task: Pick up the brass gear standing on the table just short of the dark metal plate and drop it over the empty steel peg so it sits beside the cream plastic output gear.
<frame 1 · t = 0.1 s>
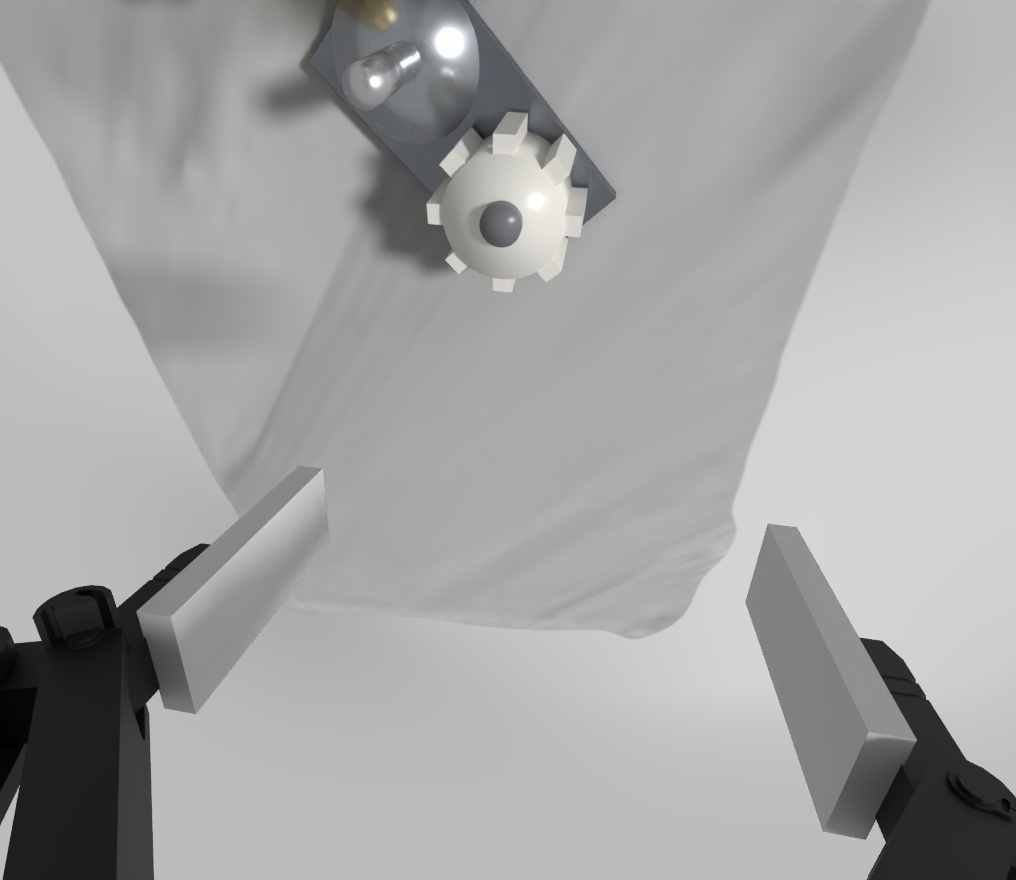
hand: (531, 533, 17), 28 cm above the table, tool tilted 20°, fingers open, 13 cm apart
gear plate: (470, 128, 35), on the table
output gear: (508, 208, 34), point 4 cm above the table, hinge at 0.0°
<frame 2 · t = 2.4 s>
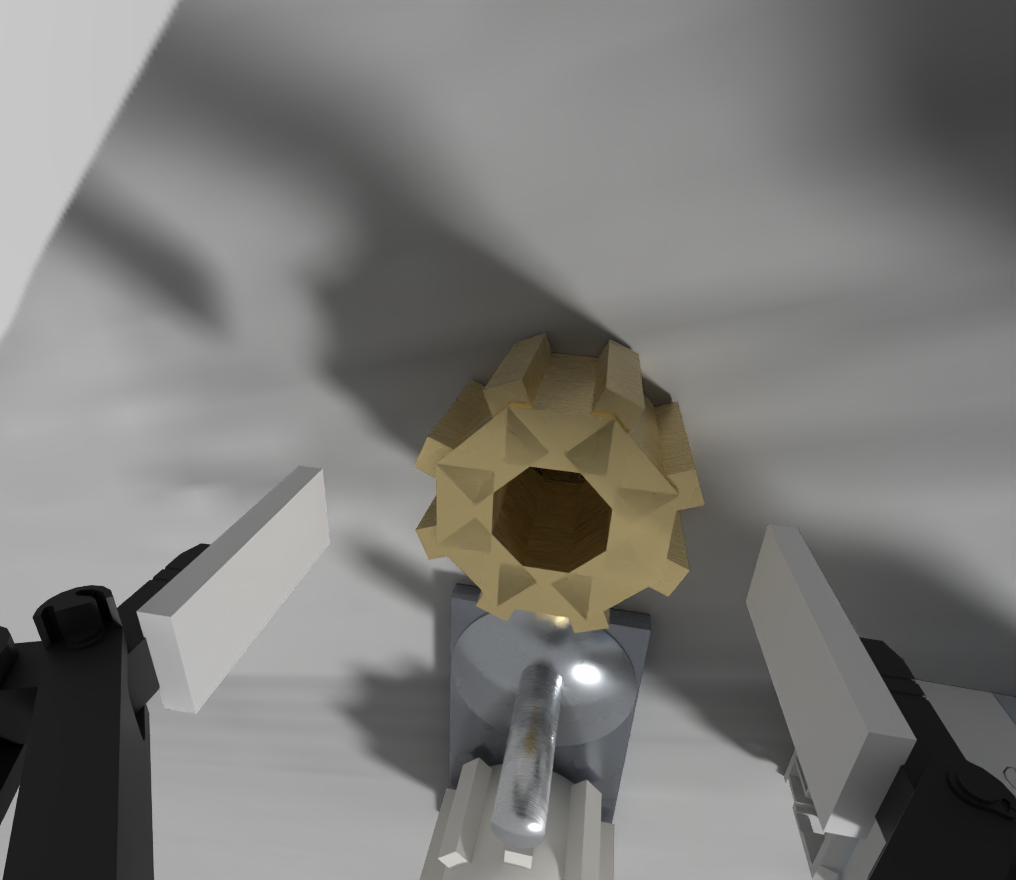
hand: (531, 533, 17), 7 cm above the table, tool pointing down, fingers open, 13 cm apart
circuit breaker: (970, 751, 25), on the table
brass gear: (566, 442, 22), on the table
gear plate: (537, 732, 30), on the table
output gear: (519, 867, 28), point 4 cm above the table, hinge at 0.0°
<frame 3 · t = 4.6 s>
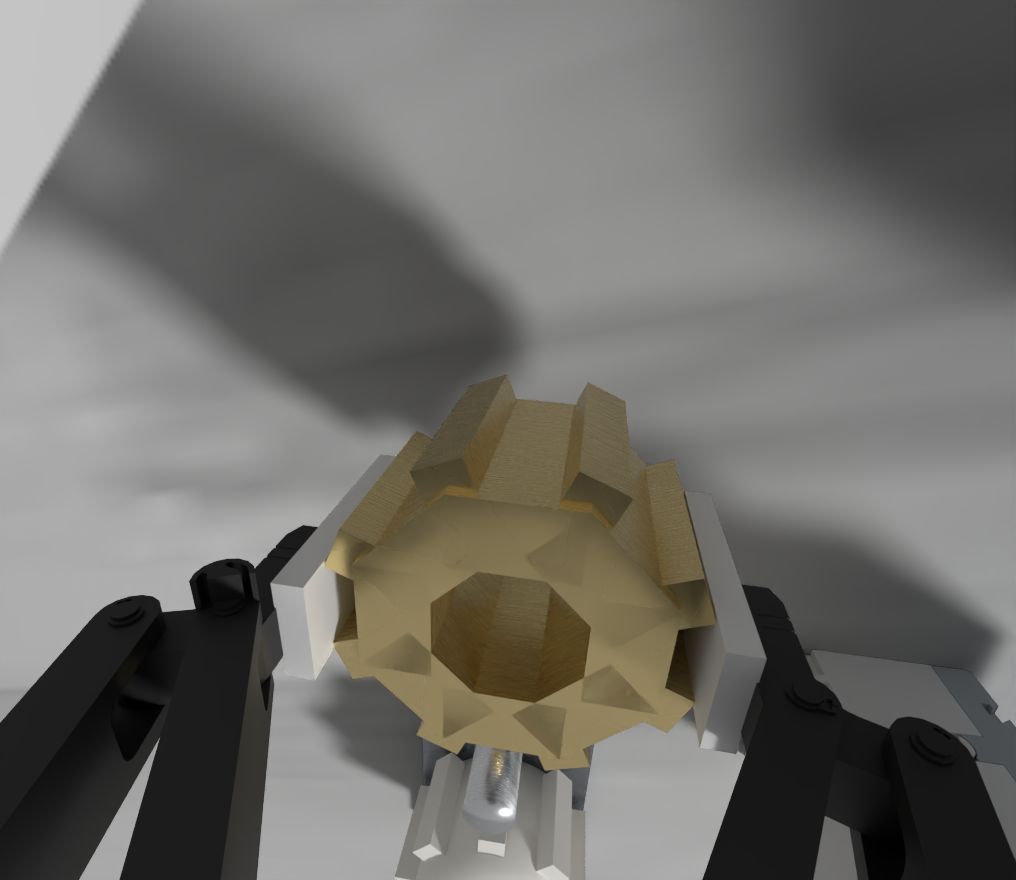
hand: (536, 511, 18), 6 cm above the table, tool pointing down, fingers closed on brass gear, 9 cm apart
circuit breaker: (913, 721, 27), on the table
brass gear: (537, 506, 18), point 6 cm above the table, touching gripper
gear plate: (508, 725, 30), on the table
output gear: (493, 857, 28), point 4 cm above the table, hinge at 0.0°
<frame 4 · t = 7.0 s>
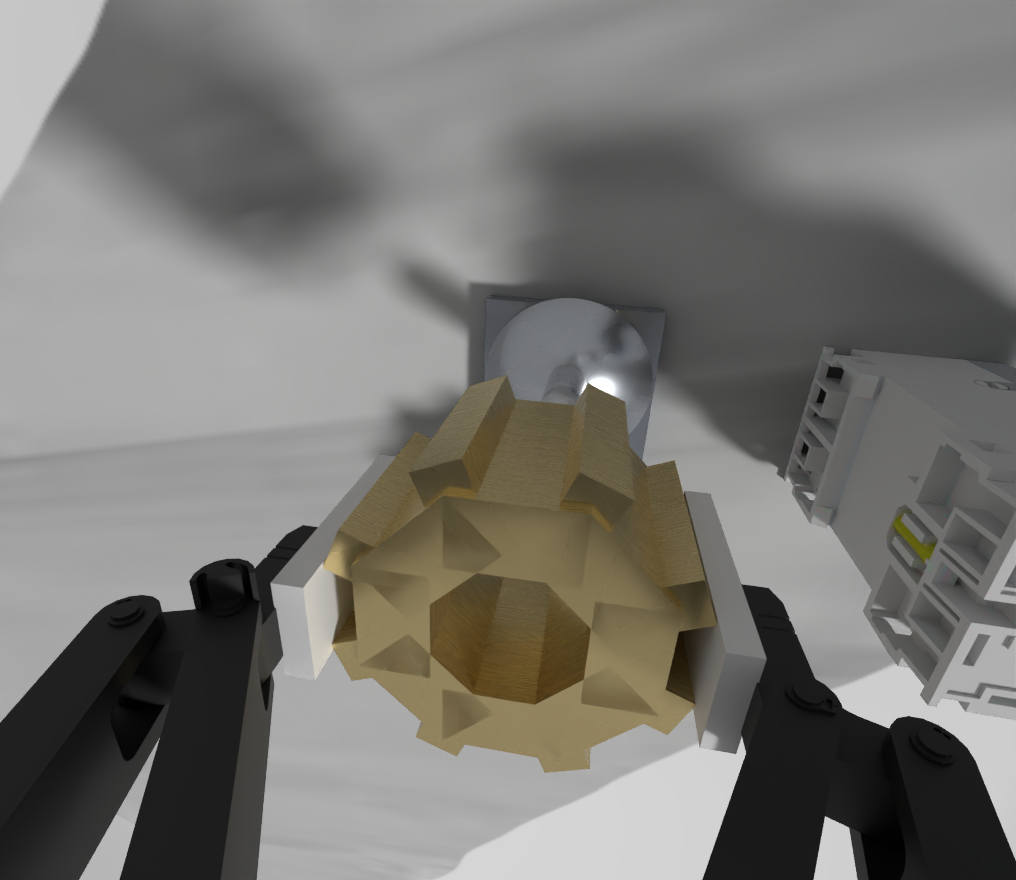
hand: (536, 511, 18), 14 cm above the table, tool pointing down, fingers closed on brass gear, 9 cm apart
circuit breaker: (947, 430, 29), on the table
brass gear: (536, 506, 18), point 14 cm above the table, touching gripper
gear plate: (560, 458, 33), on the table
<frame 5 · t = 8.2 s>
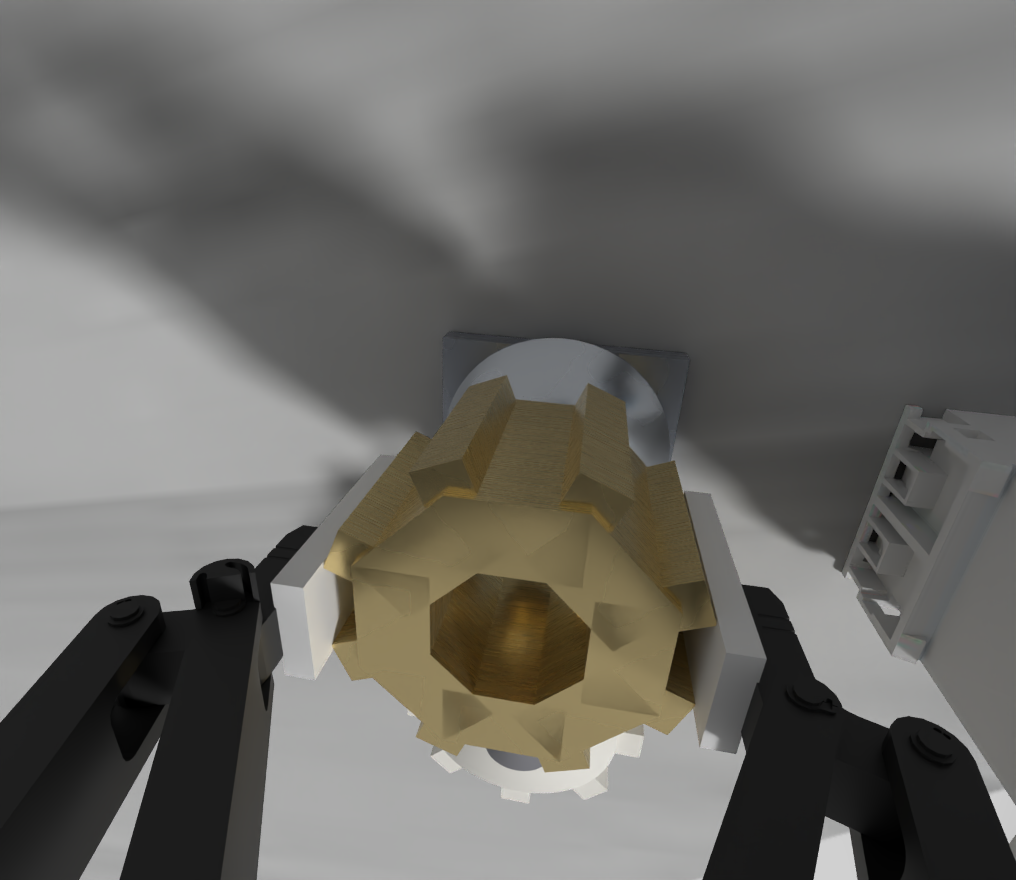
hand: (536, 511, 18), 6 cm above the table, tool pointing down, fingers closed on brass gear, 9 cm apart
brass gear: (536, 506, 18), point 5 cm above the table, touching gripper
gear plate: (546, 539, 25), on the table
output gear: (527, 685, 23), point 4 cm above the table, hinge at 0.0°
when the fingers open (3 cm above the table, at t = 9.4 s): brass gear drops 1 cm, resting on gear plate.
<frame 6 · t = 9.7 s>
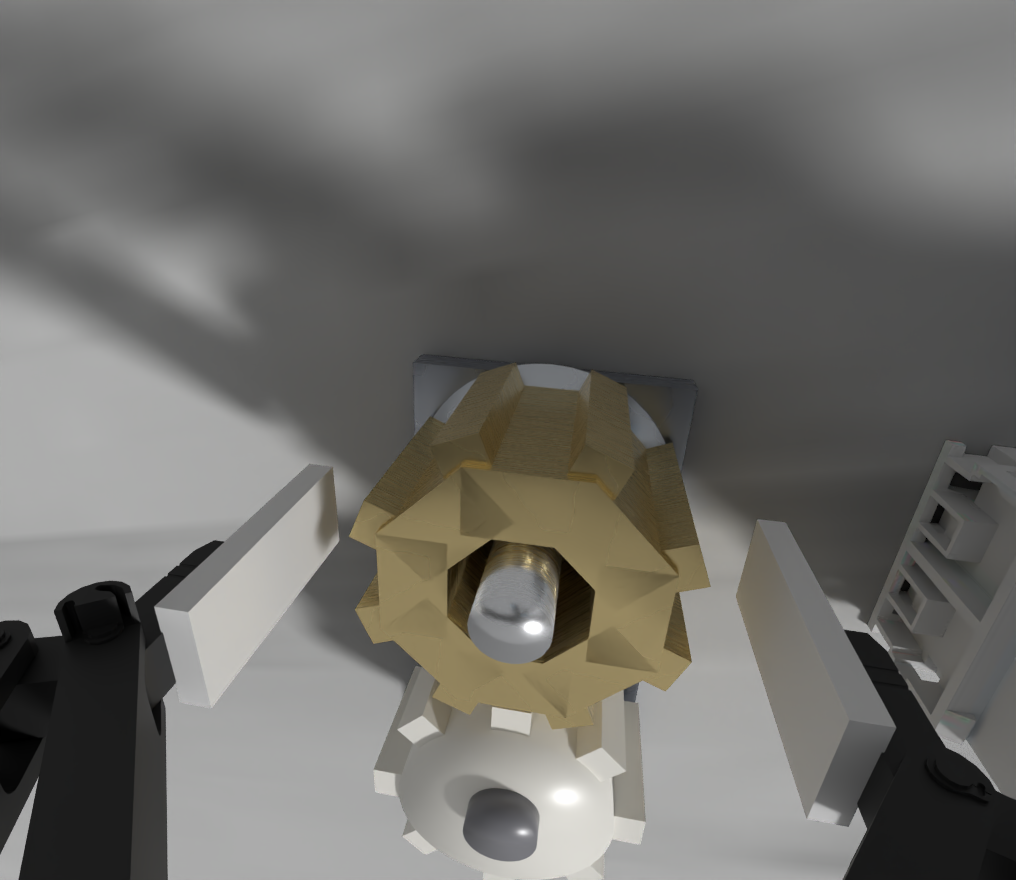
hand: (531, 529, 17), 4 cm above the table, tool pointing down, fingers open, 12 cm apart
brass gear: (543, 487, 19), point 1 cm above the table, touching gear plate
gear plate: (534, 584, 22), on the table
output gear: (513, 754, 20), point 4 cm above the table, hinge at 0.0°
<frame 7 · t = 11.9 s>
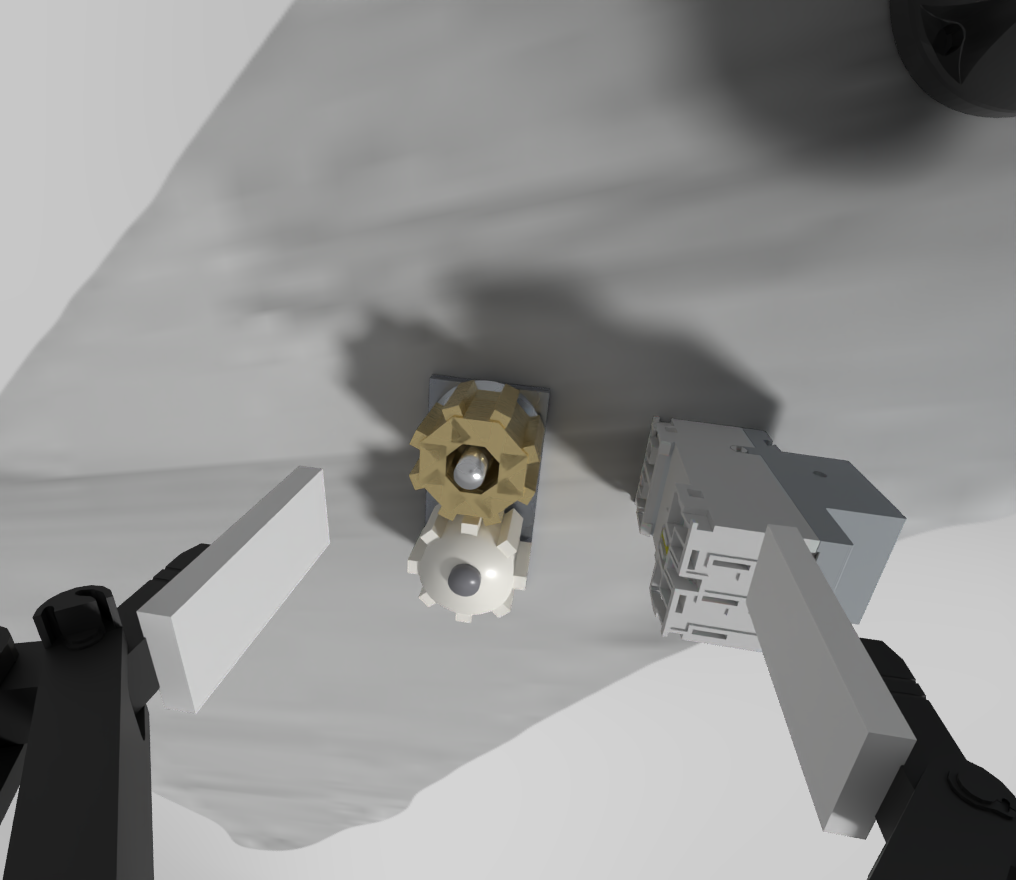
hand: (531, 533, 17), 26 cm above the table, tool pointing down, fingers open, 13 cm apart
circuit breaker: (736, 472, 43), on the table
brass gear: (486, 435, 43), point 1 cm above the table, touching gear plate
gear plate: (483, 485, 46), on the table
output gear: (470, 560, 44), point 4 cm above the table, hinge at 0.0°
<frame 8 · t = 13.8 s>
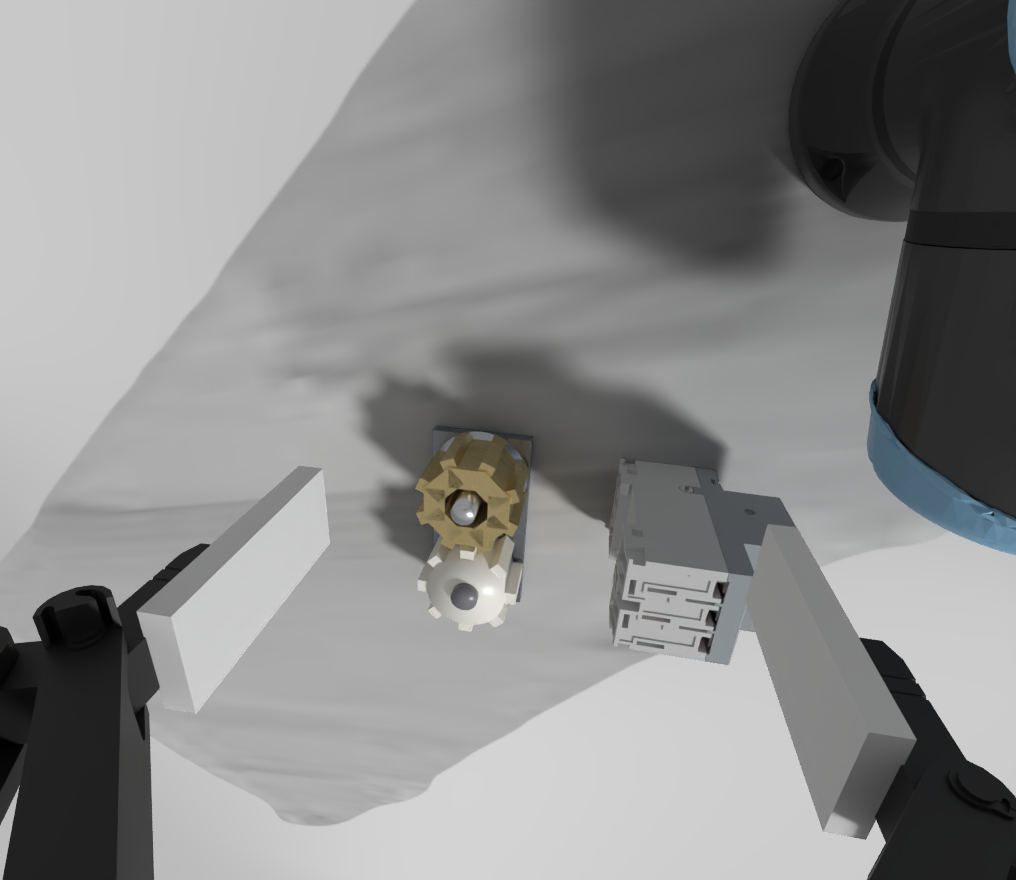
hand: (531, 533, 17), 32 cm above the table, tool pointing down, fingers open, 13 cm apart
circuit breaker: (693, 504, 51), on the table
brass gear: (480, 475, 51), point 1 cm above the table, touching gear plate
gear plate: (480, 515, 54), on the table
output gear: (470, 579, 53), point 4 cm above the table, hinge at 0.0°
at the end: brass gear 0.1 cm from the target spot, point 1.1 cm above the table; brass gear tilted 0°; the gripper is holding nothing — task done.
